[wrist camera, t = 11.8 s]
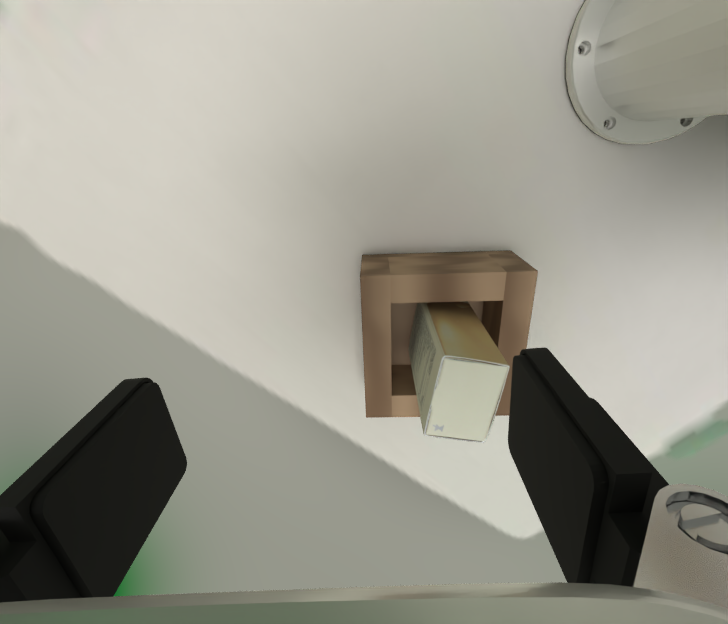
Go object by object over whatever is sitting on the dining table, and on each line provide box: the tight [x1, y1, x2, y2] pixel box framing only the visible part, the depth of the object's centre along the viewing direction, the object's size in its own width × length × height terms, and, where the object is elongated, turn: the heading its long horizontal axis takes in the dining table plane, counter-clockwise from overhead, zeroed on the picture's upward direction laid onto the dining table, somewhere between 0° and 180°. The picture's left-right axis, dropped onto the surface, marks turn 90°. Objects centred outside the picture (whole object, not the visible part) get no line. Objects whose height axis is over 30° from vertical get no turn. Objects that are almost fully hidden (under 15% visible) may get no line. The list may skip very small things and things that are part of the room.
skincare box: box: [408, 301, 510, 443], centre depth 30 cm, size 6×4×12 cm
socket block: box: [360, 251, 538, 417], centre depth 34 cm, size 13×13×6 cm
